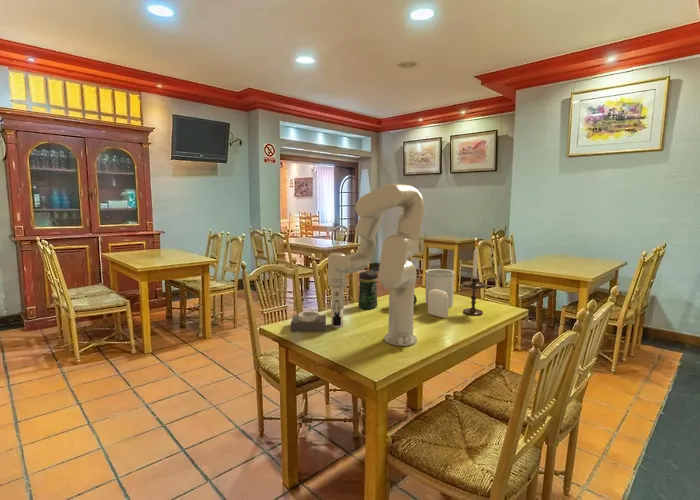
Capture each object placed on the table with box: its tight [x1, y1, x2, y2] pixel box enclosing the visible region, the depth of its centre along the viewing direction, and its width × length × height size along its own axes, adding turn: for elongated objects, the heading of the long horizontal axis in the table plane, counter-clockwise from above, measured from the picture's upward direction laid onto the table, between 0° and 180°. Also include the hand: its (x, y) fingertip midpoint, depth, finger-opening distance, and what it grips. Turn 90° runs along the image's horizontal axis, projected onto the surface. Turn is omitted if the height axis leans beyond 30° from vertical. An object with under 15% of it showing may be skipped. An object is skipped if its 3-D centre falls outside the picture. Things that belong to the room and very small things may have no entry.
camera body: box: [290, 310, 327, 333], centre depth 166 cm, size 10×14×6 cm
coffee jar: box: [358, 269, 379, 310], centre depth 196 cm, size 10×8×19 cm
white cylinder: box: [330, 307, 344, 329], centre depth 168 cm, size 5×5×8 cm
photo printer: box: [427, 289, 449, 319], centre depth 183 cm, size 10×4×12 cm, turn 39°
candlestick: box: [461, 241, 487, 317], centre depth 186 cm, size 11×11×35 cm
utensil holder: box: [424, 268, 455, 308], centre depth 202 cm, size 15×15×18 cm
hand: (337, 322), depth 168 cm, fingers open, 5 cm apart
